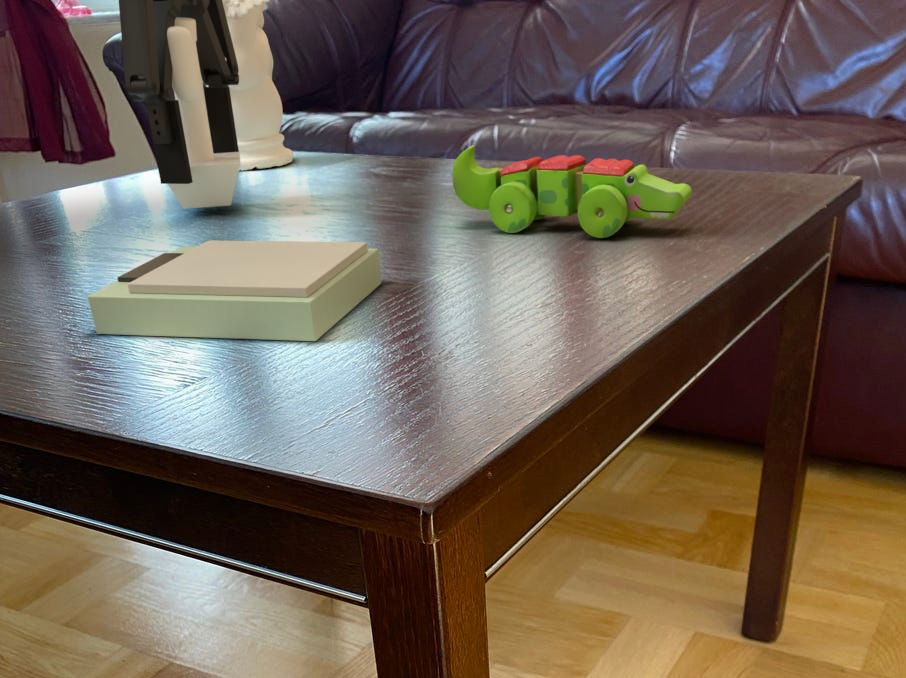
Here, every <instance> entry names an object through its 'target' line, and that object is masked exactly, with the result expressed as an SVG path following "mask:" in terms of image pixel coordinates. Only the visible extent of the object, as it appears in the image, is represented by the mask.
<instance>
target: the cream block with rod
mask: <svg viewBox="0 0 906 678" xmlns="http://www.w3.org/2000/svg"><path fill="white" fill-rule="evenodd" d="M167 39H168V45H169V51H170V56H171V62H172V68H173V72H172V90H173V94H174V100H178V102H179V107H180V113H181V119H182V124H183V130H184V136H185V141H186V147H187V153H188V158H189V164H190V170H191V176H192V181H193V182H192V183H190V184H167V185H168V187H169V189H170V191H171V192H172V194H173V195H174V197H175V199H176V200H177V201H178V203H179V204H180V206H181V207H182V209H196V208H197V209H198V208H211V207H226V206H227V207H228V206H232V202H233V199H234V194H235V191H236V190H235V189H236V185H237V182H238V177H239V173H240V171H239V168H240V164H241V163H240V152H228V153H213V147H212V141H211V135H210V129H209V122H208V116H207V109H206V102H205V95H204V88H203V87H204V83H203V81H202V76H201V72H200V66H199V60H198V54H197V48H196V41H197V33H196V20H195V19H192V18H179V17H177V18H176V19H175V26H173V27H169V28H168V29H167Z"/></svg>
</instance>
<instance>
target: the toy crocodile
mask: <svg viewBox="0 0 906 678" xmlns="http://www.w3.org/2000/svg"><path fill="white" fill-rule="evenodd" d="M475 150H476V144H472V145H470V146H469V147H467V148H466V149H464V150H463V151H462V152H461V153H460V154H459V155H458V156H457V157H456V159H455V161H454V164H453V167H452V173H451V175H452V176H451V177H452V183H453V189H454V192H455V194H456V196H457V198H458V199H459V200H460V202H462V204H464V205H466V206H468V207H470V208H472V209H476V210H480V211H482V210H483V211H489V215H490V218H491V220H492V222H493V224H494V225H495V227H497V228H498V229H499V230H501V231H502V232H505V233H507V234H508V233H509V234H514V233H519V232H521V231H523V230H525V229H527V228H528V227H530V225H531V224H532V223H533V222H534V221H539V220H542V219H544V218H545V217H547V216H550V217H570V216H573V215H576V214H577V217H578V218H577V219H578V222H579V225H580V227H581V228H582V229H583V231H584V232H585V233H586V234H587V235H589V236H591V237H594V238H597V239H605V238H609V237H611V236H613V235H614V234H615V233H617V232H618V231H619V230H620V229H621V228H622V227H623V225H625V223H626V222H628V221H629V220H630V219H637V220H670V219H673V217H675V216H676V214H677V213H679V211H681V210H682V208H683V206H684V204H685V203H687V201H688V200H689V199H690V198H691V196H692V194H693V190H692V187H691V186H690V185H689V184H687V183H683V182H681V183H674V182H671V181H670V180H667V179H663V178H661V177H658V176H656V175H653V174H650V173H649V171H648V168H647V166H646V165H645V164H638V165H636V166H634V162H633V161H631V160H630V159H622V160H618V159H616V158H609V159H604V158H601V157H596V158H594V159H593V160H591V161H590V162H589V163H587V160H586V159H585V157H584V156H582V155H579V154H576V155H575V154H574V155H571V156H567V155H564V154H559V155H556V156H553V157H550V158H546V159H544V160H543V158H542V157H541V156H534V157H530V158H529V159H527V160H519V161H517V162H514V163H511V164H509V165H507V166H505V167H503V168H501V167H491V168H484V167H482V166H480V165H479V164H478V163H477V161H476V157H475Z"/></svg>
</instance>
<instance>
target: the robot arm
mask: <svg viewBox="0 0 906 678" xmlns="http://www.w3.org/2000/svg"><path fill="white" fill-rule="evenodd" d="M118 11H119V21H120V34H121V47H122V56H123V71H124V81H125V82H124V83H125V90H126V92H127V94H128V95H129V96H130V97H131V99H132V100H133V102H144V104H145V107H146V112H147V113H146V114H147V118H148V122H149V128H150V133H151V138H152V143H153V148H154V154H155V159H156V165H157V170H158V175H159V180H160V184H161V185H162V184H166V185H168V184H190V183H192V182H193V181H192V176H191V170H190V164H189V158H188V153H187V147H186V141H185V136H184V130H183V124H182V119H181V113H180V107H179V102H178V100H175V99H172V96H173V95H172V92H173V91H172V90H173V88H172V72H173V68H172V62H171V56H170V51H169V45H168V39H167V29H168V28H169V27H173V26H175V19H176V18H177V17H179V18H192V19H195V20H196V33H197V41H196V48H197V54H198V60H199V66H200V72H201V76H202V80H203V85H204V86H203V88H204V95H205V102H206V109H207V116H208V122H209V129H210V135H211V141H212V147H213V153H228V152H239V149H238V143H237V136H236V129H235V123H234V116H233V110H232V103H231V96H230V90H229V87H228V85H238V84H239V75H238V72H239V69H238V63H237V59H236V55H235V51H234V47H233V43H232V39H231V35H230V31H229V27H228V23H227V18H226V14H225V10H224V6H223V2H222V0H118ZM225 58H226V60H225ZM205 85H208V87H206V86H205Z"/></svg>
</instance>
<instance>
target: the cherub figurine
mask: <svg viewBox="0 0 906 678" xmlns="http://www.w3.org/2000/svg"><path fill="white" fill-rule="evenodd" d="M269 1H270V0H222V2H223V6H224V10H225V14H226V18H227V23H228V27H229V31H230V35H231V39H232V43H233V47H234V51H235V55H236V59H237V63H238V69H239V72H238V75H239V84H238V85H228V87H229V90H230V96H231V103H232V110H233V116H234V123H235V129H236V136H237V143H238V149H239V152H240V163H241V164H240V168H239V172H240V171H248V170H252V169H254V168H257V169H266V168H268V169H269V168H272V167H276V166H277V167H281V166H283V165H287V164H290V163H291V162H292V161H293V159H294V158H293V157H294V152H293V150H292V149H290V148H287V147H285V146H284V141H285V135H284V134H282V133H280V131H281V127H282V123H283V115H284V114H283V110H284V109H283V103H282V100H281V99H282V98H281V96H280V94H279V91H278V89H277V87H276V85H275V83H274V81H273V71H274V70H273V69H274V58H273V57H274V56H273V54H272V49H271V47H270V43H269V39H268V36H267V34H266V32H265V31H264V29H263V28H264V24H265V18H264V14H263V12H264V11H265V10H266V8H267V5H266V4H267V3H269ZM225 60H226V58H225ZM202 81H203V80H202ZM204 87H208V85H205V84H204Z"/></svg>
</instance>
